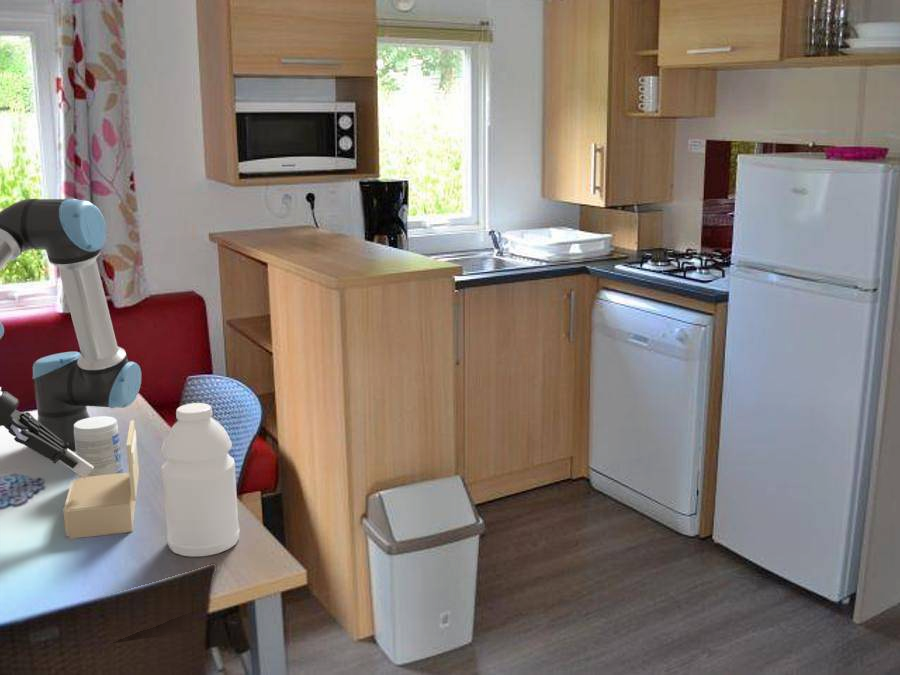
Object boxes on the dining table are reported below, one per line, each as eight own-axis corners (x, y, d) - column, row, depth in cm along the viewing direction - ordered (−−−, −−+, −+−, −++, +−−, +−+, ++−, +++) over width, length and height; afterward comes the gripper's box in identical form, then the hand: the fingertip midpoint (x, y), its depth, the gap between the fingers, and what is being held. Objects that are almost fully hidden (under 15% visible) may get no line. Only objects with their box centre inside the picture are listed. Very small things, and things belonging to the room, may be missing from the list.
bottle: (175, 564, 178) (163, 423, 172) (161, 535, 190) (149, 403, 184) (248, 548, 185) (239, 411, 178) (230, 521, 197) (221, 392, 190)
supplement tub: (128, 485, 216) (122, 424, 212) (85, 494, 211) (78, 432, 207) (117, 471, 224) (111, 412, 220) (75, 480, 219) (68, 420, 215)
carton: (75, 503, 206) (72, 477, 204) (136, 497, 209) (133, 471, 208) (65, 539, 189) (62, 511, 188) (132, 531, 192) (129, 503, 191)
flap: (135, 472, 207) (130, 420, 204) (140, 471, 207) (135, 419, 204) (131, 501, 192) (126, 445, 189) (136, 500, 192) (131, 444, 189)
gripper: (-20, 409, 191) (77, 475, 201) (-27, 429, 179) (76, 498, 189) (6, 381, 192) (101, 448, 201) (0, 399, 180) (101, 469, 189)
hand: (89, 472), depth 195 cm, fingers closed
